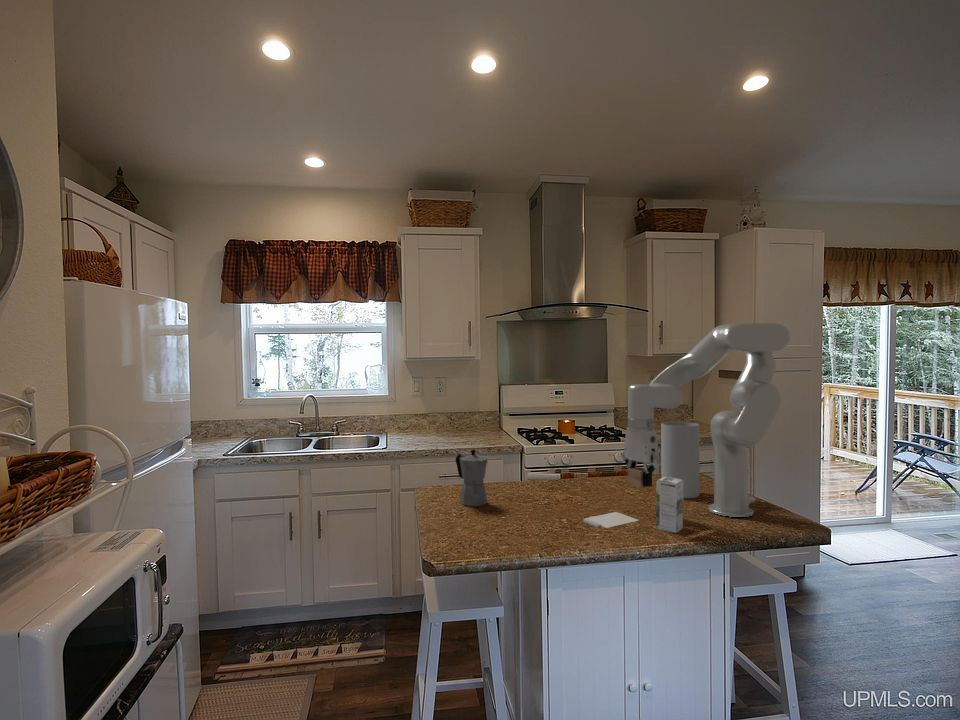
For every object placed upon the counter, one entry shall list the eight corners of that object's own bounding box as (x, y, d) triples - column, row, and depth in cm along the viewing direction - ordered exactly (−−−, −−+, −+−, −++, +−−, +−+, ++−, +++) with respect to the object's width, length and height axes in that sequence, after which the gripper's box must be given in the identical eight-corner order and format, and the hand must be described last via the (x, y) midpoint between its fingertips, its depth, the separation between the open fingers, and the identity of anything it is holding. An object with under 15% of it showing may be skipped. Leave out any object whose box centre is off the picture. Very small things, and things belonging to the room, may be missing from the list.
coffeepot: (497, 503, 168) (496, 450, 168) (476, 509, 162) (476, 453, 162) (466, 495, 179) (466, 444, 179) (446, 500, 173) (445, 448, 173)
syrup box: (663, 526, 144) (662, 475, 144) (684, 530, 140) (683, 478, 140) (655, 531, 140) (655, 479, 140) (677, 536, 136) (677, 482, 136)
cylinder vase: (655, 494, 178) (654, 424, 178) (672, 488, 186) (671, 420, 186) (689, 501, 169) (688, 427, 169) (706, 494, 177) (705, 423, 177)
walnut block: (639, 482, 157) (639, 466, 157) (652, 486, 153) (652, 470, 153) (628, 484, 155) (628, 468, 155) (640, 488, 151) (640, 471, 151)
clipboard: (615, 512, 157) (615, 508, 157) (645, 523, 146) (645, 519, 146) (575, 521, 149) (575, 516, 149) (604, 533, 139) (604, 528, 139)
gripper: (671, 427, 149) (671, 488, 148) (628, 420, 163) (628, 476, 163) (653, 428, 145) (653, 491, 145) (611, 422, 160) (611, 479, 160)
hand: (640, 483), depth 154 cm, fingers closed on walnut block, 5 cm apart
